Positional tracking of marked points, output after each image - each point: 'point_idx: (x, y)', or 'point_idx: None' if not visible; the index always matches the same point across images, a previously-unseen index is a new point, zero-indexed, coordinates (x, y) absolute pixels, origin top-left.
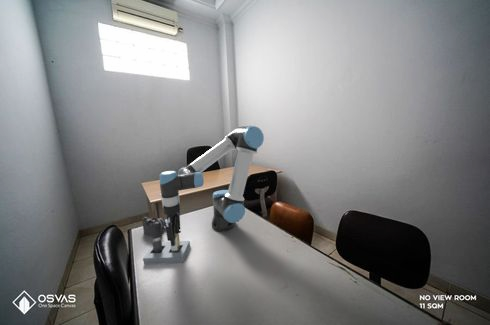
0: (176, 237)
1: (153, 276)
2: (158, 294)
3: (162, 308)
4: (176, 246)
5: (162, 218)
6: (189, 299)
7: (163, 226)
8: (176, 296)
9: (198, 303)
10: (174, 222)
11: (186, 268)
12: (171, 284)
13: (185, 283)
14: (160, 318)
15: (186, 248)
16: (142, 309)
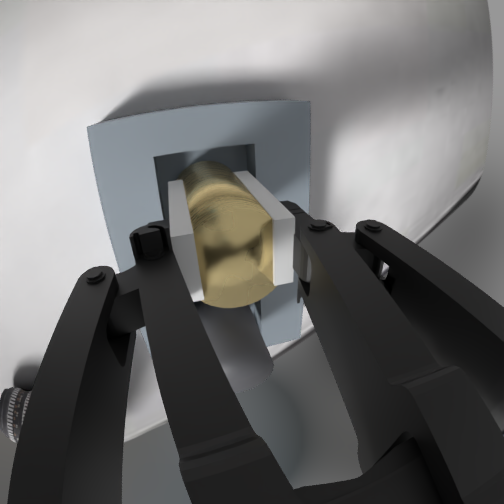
0: (259, 223)
1: None
2: (442, 154)
3: (474, 121)
4: (258, 184)
5: (4, 430)
6: (459, 37)
7: (18, 393)
8: (453, 83)
9: (465, 11)
10: (493, 423)
11: (335, 61)
12: (415, 116)
13: (414, 54)
14: (488, 117)
15: (188, 107)
16: (466, 182)
